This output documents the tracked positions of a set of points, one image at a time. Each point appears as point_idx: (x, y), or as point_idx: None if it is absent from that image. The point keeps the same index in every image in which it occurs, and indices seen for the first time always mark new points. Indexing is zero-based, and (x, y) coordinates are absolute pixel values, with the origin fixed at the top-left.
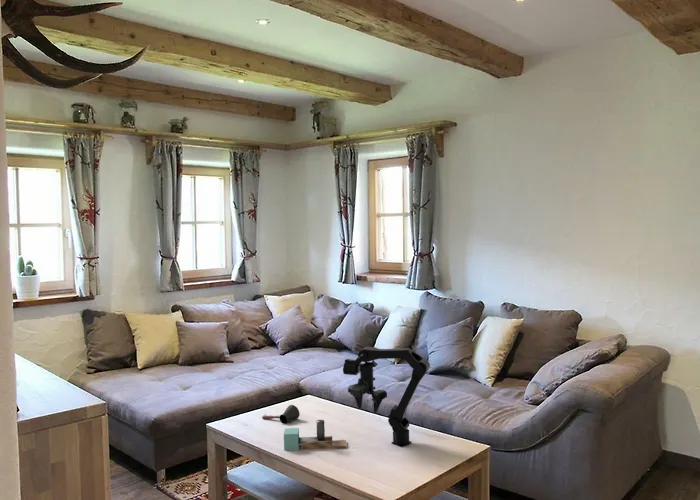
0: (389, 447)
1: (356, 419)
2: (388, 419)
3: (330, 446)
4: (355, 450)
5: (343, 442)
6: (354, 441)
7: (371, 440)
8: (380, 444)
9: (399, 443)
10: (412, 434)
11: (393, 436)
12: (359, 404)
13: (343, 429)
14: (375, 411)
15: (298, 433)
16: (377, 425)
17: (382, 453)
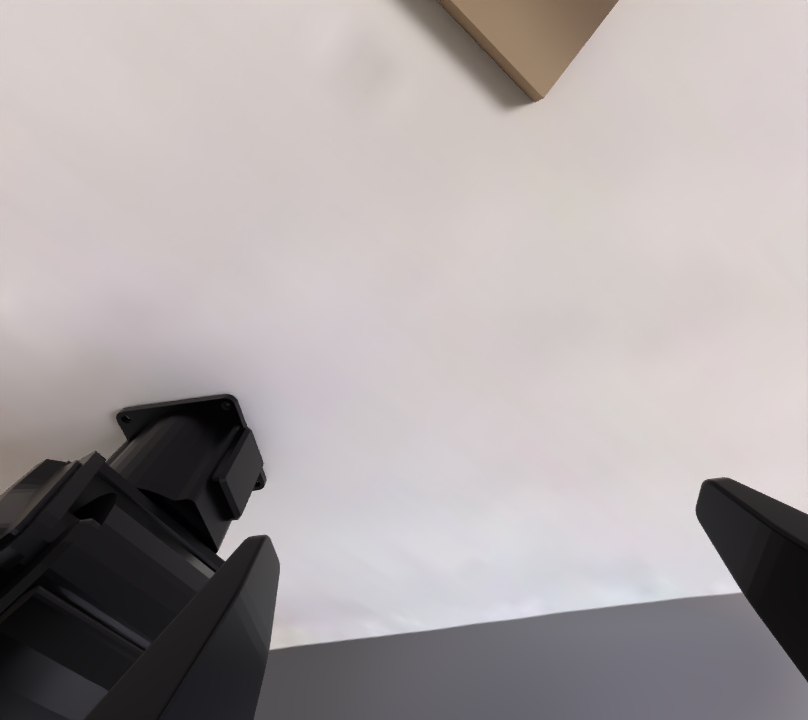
0: (175, 337)
1: (776, 494)
2: (58, 550)
3: None
4: (287, 16)
5: (514, 12)
6: (486, 192)
7: (394, 325)
8: (274, 325)
9: (152, 421)
10: (297, 571)
11: (228, 449)
12: (797, 572)
13: (760, 307)
14: (222, 575)
15: None
16: (577, 522)
17: (73, 200)
